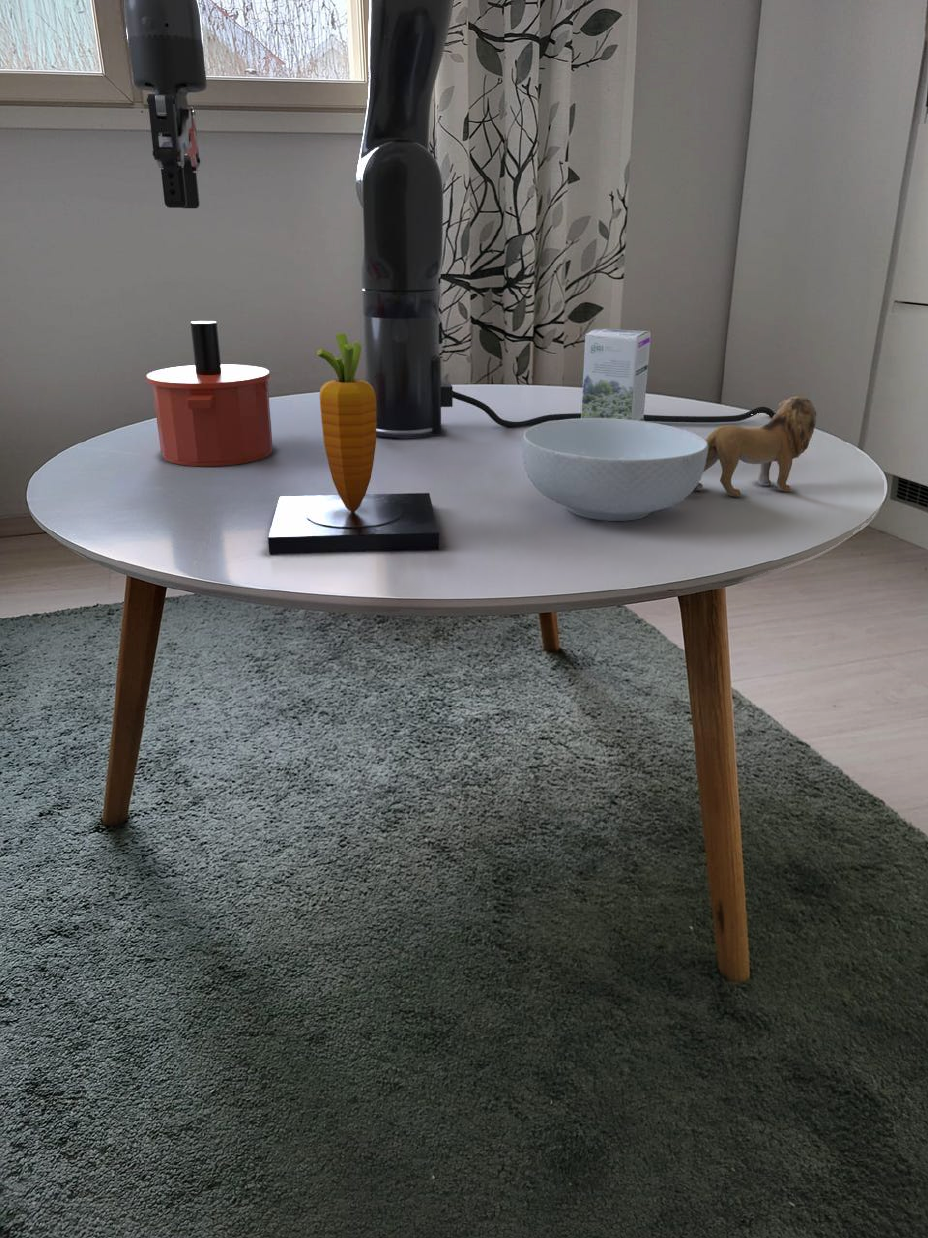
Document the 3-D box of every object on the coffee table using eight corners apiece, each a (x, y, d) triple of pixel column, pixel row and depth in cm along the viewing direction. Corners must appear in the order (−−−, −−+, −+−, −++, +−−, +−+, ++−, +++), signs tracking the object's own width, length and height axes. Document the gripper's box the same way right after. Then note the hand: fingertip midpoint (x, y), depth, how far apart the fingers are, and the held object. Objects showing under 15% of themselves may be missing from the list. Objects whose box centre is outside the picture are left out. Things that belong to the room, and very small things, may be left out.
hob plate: (429, 507, 89) (429, 491, 88) (439, 549, 78) (439, 531, 77) (280, 511, 87) (279, 495, 87) (269, 554, 76) (267, 536, 76)
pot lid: (275, 373, 112) (270, 315, 109) (264, 393, 100) (259, 328, 97) (160, 375, 111) (153, 316, 108) (135, 395, 98) (126, 329, 96)
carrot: (371, 522, 79) (365, 339, 73) (316, 518, 80) (305, 337, 74) (387, 505, 84) (382, 332, 78) (335, 502, 85) (326, 330, 79)
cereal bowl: (575, 547, 78) (580, 464, 76) (491, 496, 92) (492, 424, 90) (738, 523, 85) (748, 446, 82) (636, 479, 99) (642, 412, 96)
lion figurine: (782, 475, 100) (795, 390, 97) (819, 488, 96) (834, 399, 92) (672, 491, 94) (680, 401, 91) (706, 505, 90) (716, 411, 86)
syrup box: (641, 463, 105) (652, 329, 99) (627, 475, 100) (637, 335, 94) (593, 458, 107) (600, 326, 101) (576, 469, 102) (583, 332, 96)
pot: (278, 435, 117) (272, 365, 114) (265, 471, 101) (258, 391, 97) (177, 437, 116) (168, 367, 112) (147, 473, 100) (136, 393, 96)
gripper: (190, 25, 91) (208, 208, 97) (212, 48, 104) (226, 208, 110) (111, 23, 90) (134, 207, 96) (142, 47, 103) (161, 208, 109)
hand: (183, 207), depth 103 cm, fingers open, 8 cm apart
